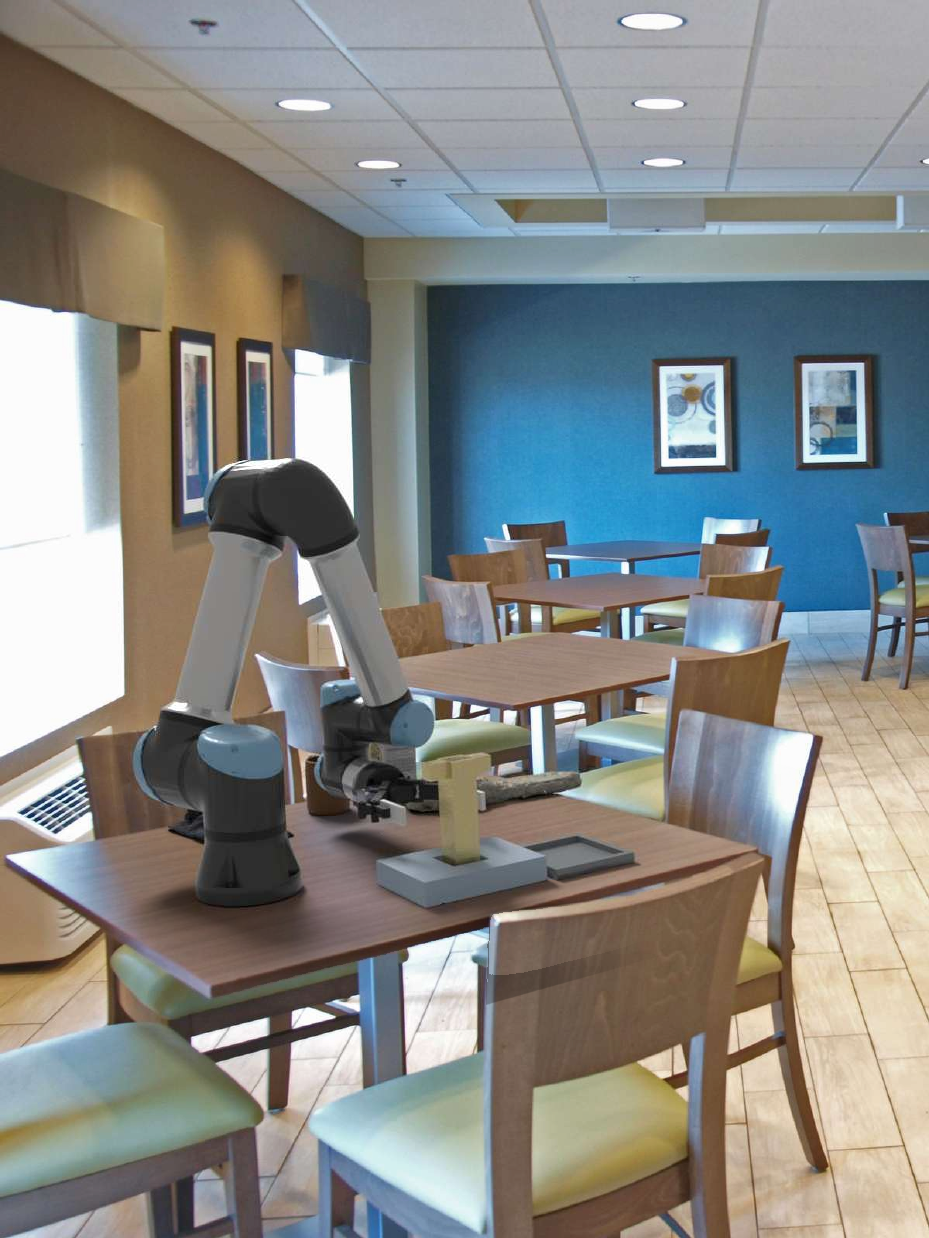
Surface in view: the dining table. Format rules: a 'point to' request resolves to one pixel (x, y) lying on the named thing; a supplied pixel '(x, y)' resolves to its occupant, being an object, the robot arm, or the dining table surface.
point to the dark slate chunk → (195, 825)
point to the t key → (458, 804)
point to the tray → (579, 855)
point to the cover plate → (460, 873)
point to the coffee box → (395, 758)
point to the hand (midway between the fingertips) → (444, 809)
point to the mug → (321, 794)
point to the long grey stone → (514, 788)
